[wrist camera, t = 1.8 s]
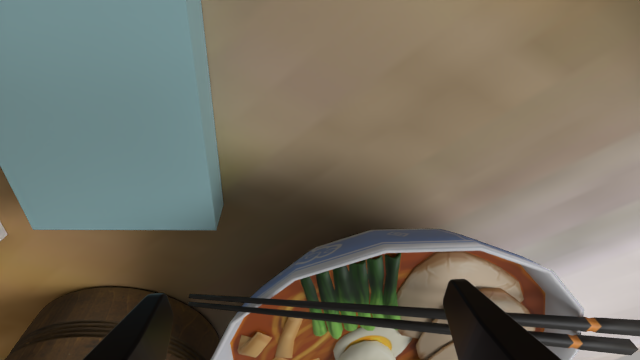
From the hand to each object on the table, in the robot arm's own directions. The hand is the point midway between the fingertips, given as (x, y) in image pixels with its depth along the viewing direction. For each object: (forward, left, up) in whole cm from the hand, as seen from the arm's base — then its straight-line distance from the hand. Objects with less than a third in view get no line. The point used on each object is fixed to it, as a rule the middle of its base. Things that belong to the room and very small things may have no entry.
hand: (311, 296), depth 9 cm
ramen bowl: (-6, +14, -12) cm, 20 cm away
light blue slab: (+10, 0, -12) cm, 16 cm away
